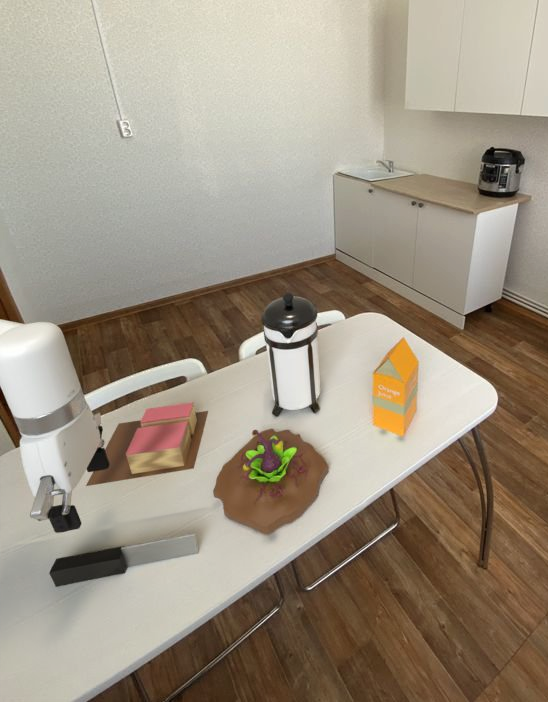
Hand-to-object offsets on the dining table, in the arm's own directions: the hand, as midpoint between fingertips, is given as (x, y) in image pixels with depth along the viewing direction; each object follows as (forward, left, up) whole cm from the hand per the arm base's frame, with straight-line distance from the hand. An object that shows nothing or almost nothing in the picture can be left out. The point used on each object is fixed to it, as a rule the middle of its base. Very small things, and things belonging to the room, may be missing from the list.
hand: (85, 496), depth 59 cm
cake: (+1, +22, -14) cm, 26 cm away
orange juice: (+55, +20, -14) cm, 60 cm away
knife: (+4, -2, -14) cm, 15 cm away
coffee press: (+32, +32, -14) cm, 47 cm away
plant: (+27, +9, -14) cm, 32 cm away
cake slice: (+4, +25, -13) cm, 28 cm away
